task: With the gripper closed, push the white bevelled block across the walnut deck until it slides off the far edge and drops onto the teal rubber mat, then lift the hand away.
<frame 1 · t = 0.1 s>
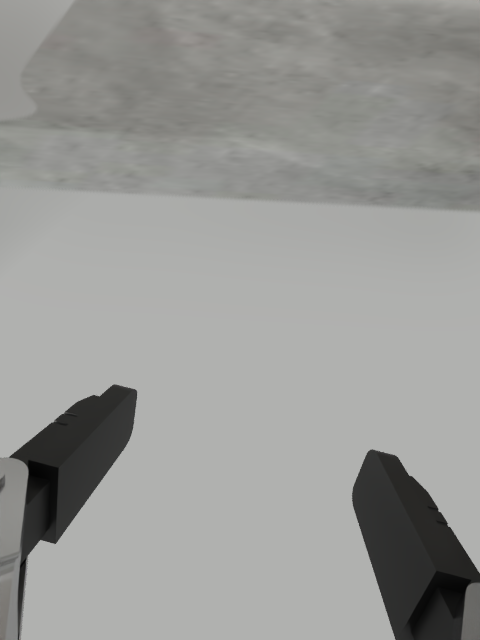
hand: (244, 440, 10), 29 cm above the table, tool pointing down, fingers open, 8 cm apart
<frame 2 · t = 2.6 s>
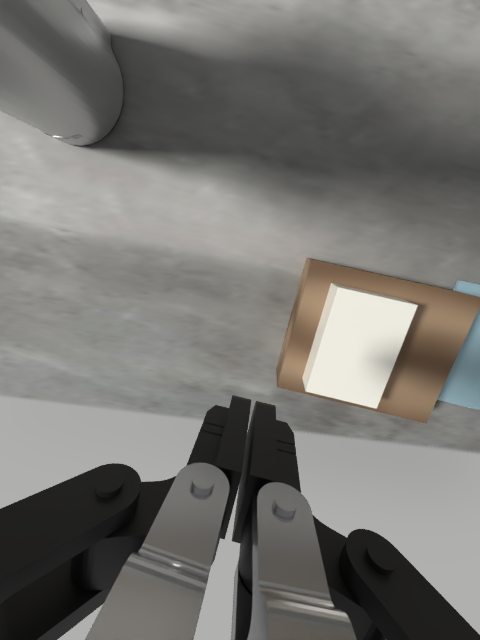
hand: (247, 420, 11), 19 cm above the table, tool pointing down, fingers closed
white bevelled block: (349, 340, 25), point 4 cm above the table, touching deck
deck: (358, 332, 28), on the table
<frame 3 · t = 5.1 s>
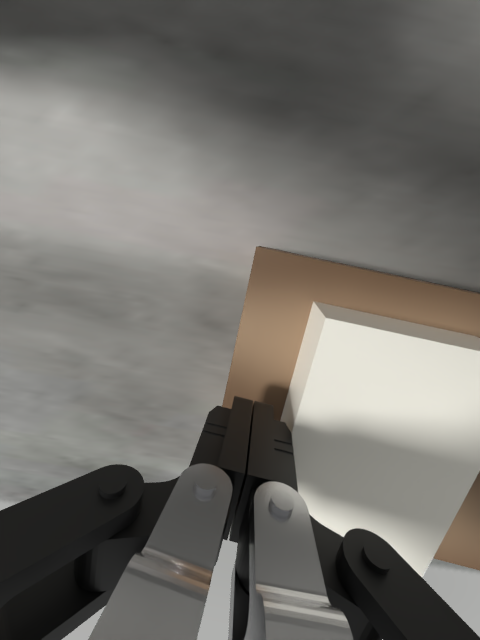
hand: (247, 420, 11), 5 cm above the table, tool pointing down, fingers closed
white bevelled block: (355, 420, 12), point 4 cm above the table, touching gripper
deck: (360, 383, 15), on the table
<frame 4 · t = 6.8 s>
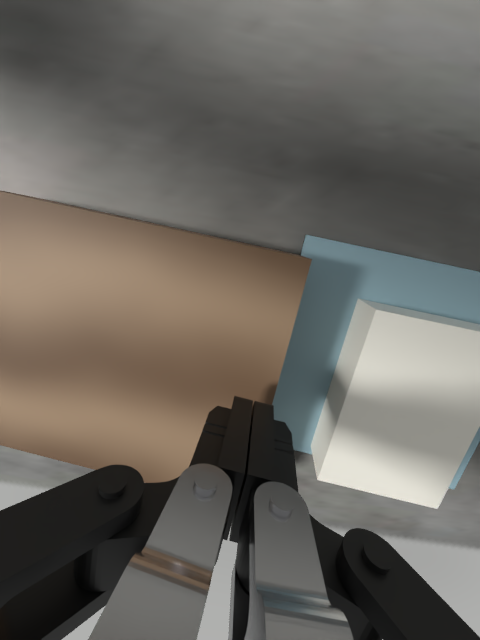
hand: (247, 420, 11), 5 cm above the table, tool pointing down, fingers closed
white bevelled block: (409, 417, 13), point 3 cm above the table, tilted 180°, touching mat
mat: (384, 371, 15), on the table
deck: (152, 334, 16), on the table
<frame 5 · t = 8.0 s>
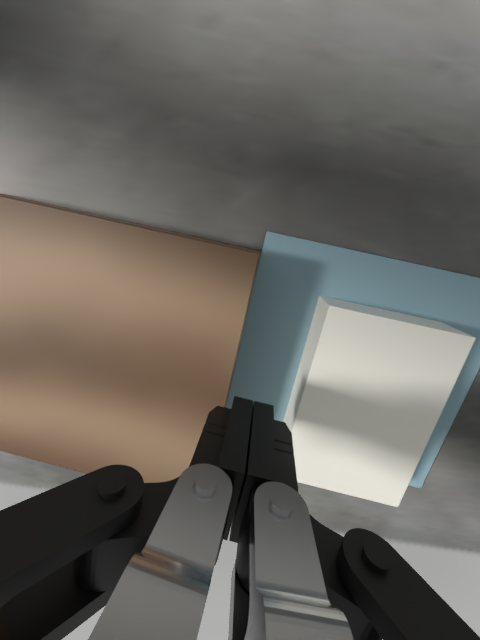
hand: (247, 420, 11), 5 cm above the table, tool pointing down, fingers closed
white bevelled block: (366, 414, 13), point 3 cm above the table, tilted 180°, touching mat
mat: (349, 369, 15), on the table
deck: (118, 330, 16), on the table
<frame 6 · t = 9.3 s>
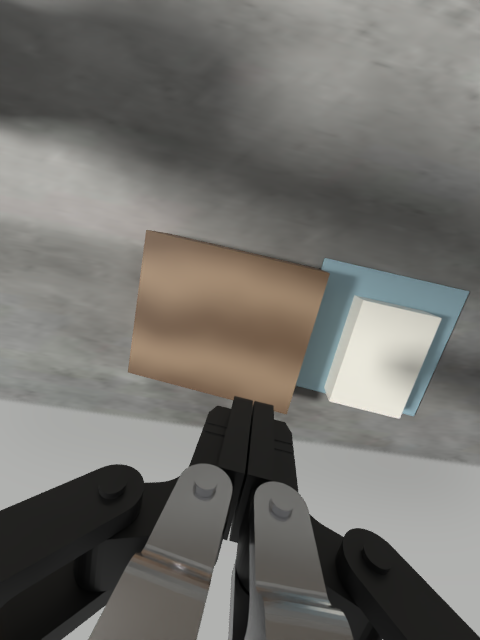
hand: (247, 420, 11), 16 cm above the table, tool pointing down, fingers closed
white bevelled block: (382, 362, 23), point 3 cm above the table, tilted 180°, touching mat
mat: (370, 339, 25), on the table
deck: (228, 315, 26), on the table
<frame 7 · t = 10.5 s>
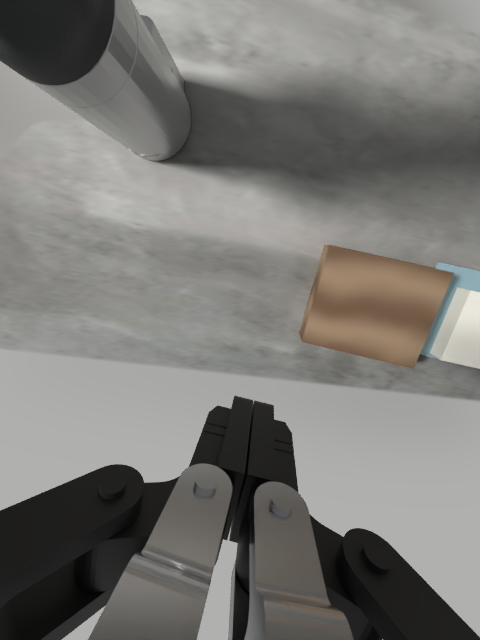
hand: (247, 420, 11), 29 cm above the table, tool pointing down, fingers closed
mat: (465, 318, 36), on the table
deck: (363, 302, 37), on the table
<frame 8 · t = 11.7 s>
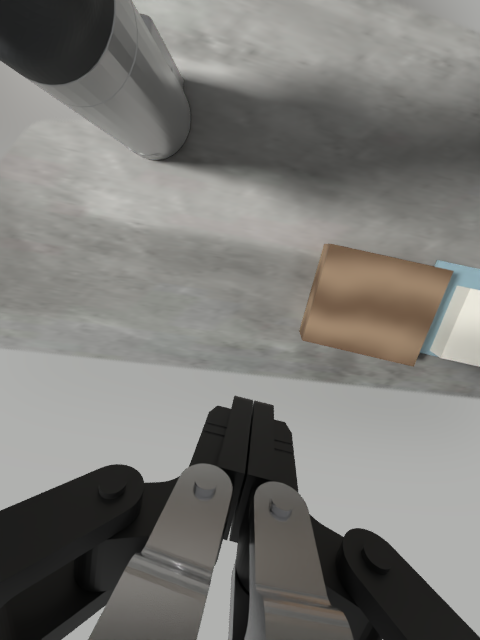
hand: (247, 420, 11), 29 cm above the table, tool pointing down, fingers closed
white bevelled block: (479, 329, 34), point 3 cm above the table, tilted 180°, touching mat
mat: (465, 316, 37), on the table
deck: (363, 301, 37), on the table
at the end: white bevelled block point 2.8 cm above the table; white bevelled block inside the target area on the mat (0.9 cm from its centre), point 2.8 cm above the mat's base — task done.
